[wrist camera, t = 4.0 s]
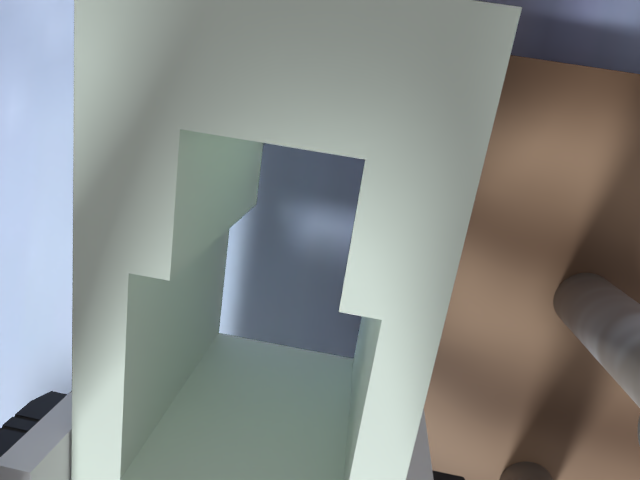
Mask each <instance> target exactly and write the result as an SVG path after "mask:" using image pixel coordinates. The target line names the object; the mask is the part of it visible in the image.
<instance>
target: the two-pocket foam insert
mask: <svg viewBox="0 0 640 480" xmlns="http://www.w3.org/2000/svg"><path fill="white" fill-rule="evenodd" d="M521 10H522V7H517V6H510V5H503V4H496V3H489V2H482V1H475V0H74V147H73V308H72V469H71V480H406V477H407V473H408V469H409V465H410V461H411V457H412V453H413V449H414V445H415V441H416V437H417V433H418V429H419V424H420V420H421V416H422V412H423V408H424V404H425V400H426V396H427V392H428V388H429V384H430V380H431V376H432V372H433V368H434V363H435V359H436V355H437V351H438V347H439V343H440V339H441V335H442V331H443V327H444V323H445V319H446V315H447V311H448V307H449V303H450V298H451V294H452V290H453V286H454V282H455V278H456V274H457V270H458V266H459V262H460V258H461V254H462V250H463V246H464V242H465V237H466V233H467V229H468V225H469V221H470V217H471V213H472V209H473V205H474V201H475V197H476V193H477V189H478V185H479V181H480V176H481V172H482V168H483V164H484V160H485V156H486V152H487V148H488V144H489V140H490V136H491V132H492V128H493V124H494V120H495V116H496V111H497V107H498V103H499V99H500V95H501V91H502V87H503V83H504V79H505V75H506V71H507V67H508V63H509V59H510V55H511V50H512V46H513V42H514V38H515V34H516V30H517V26H518V22H519V18H520V14H521ZM263 143H267V144H273V145H279V146H285V147H291V148H297V149H304V150H310V151H316V152H322V153H328V154H334V155H340V156H346V157H352V158H358V159H364V160H365V163H364V169H363V175H362V180H361V186H360V192H359V197H358V203H357V209H356V214H355V220H354V226H353V232H352V237H351V243H350V249H349V255H348V261H347V266H346V272H345V278H344V284H343V290H342V295H341V301H340V307H339V312H342V313H347V314H352V315H358V316H362V318H361V323H360V328H359V333H358V338H357V344H356V349H355V354H354V359H353V358H348V357H342V356H337V355H332V354H327V353H321V352H316V351H311V350H306V349H300V348H295V347H290V346H285V345H279V344H274V343H269V342H264V341H258V340H253V339H248V338H243V337H237V336H232V335H227V334H221V333H219V326H220V316H221V306H222V296H223V286H224V277H225V267H226V257H227V247H228V237H229V228H230V227H232V226H233V225H234V224H235V223H236V222H237V221H238V220H239V219H241V218H242V217H243V216H244V215H245V214H246V213H247V212H249V211H250V210H251V209H252V208H253V207H254V206H255V205H256V203H257V194H258V186H259V177H260V168H261V160H262V151H263Z"/></svg>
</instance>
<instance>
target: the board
mask: <svg viewBox="0 0 640 480" xmlns="http://www.w3.org/2000/svg"><path fill="white" fill-rule="evenodd" d="M424 414H425V421H426V428H427V435H428V443H429V450H430V457H431V465H432V470H433V471H438V472H443V473H447V474H452V475H457V476H461V477H464V479H465V480H640V74H635V73H628V72H621V71H615V70H608V69H601V68H594V67H588V66H581V65H574V64H567V63H561V62H554V61H547V60H540V59H534V58H527V57H520V56H513V55H510V59H509V63H508V67H507V71H506V75H505V79H504V83H503V87H502V91H501V95H500V99H499V103H498V107H497V111H496V116H495V120H494V124H493V128H492V132H491V136H490V140H489V144H488V148H487V152H486V156H485V160H484V164H483V168H482V172H481V176H480V181H479V185H478V189H477V193H476V197H475V201H474V205H473V209H472V213H471V217H470V221H469V225H468V229H467V233H466V237H465V242H464V246H463V250H462V254H461V258H460V262H459V266H458V270H457V274H456V278H455V282H454V286H453V290H452V294H451V298H450V303H449V307H448V311H447V315H446V319H445V323H444V327H443V331H442V335H441V339H440V343H439V347H438V351H437V355H436V359H435V363H434V368H433V372H432V376H431V380H430V384H429V388H428V392H427V396H426V400H425V404H424Z"/></svg>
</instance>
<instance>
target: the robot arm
mask: <svg viewBox="0 0 640 480" xmlns="http://www.w3.org/2000/svg"><path fill="white" fill-rule="evenodd" d="M71 469H72V391H71V392H70V393H69V394H68V395H67V394H62V393H57V392H53V391H51V392H49V393H47V394H45V395H43V396H40V397H38V398H36V399H34V400H32V401H30V402H29V403H28V404H27V405H26V406H24V407H23V408H22V409H21V410H20V411H19V412H17V413H16V414H15V417H12V418H10V419H9V420H8V421H7V422H6V423H5V424H3V426H2V428H0V480H71ZM406 480H465V479H464V477H461V476H457V475H452V474H447V473H443V472H438V471H433V470H432V465H431V457H430V450H429V443H428V435H427V428H426V421H425V414H424V408H423V412H422V416H421V420H420V424H419V429H418V433H417V437H416V441H415V445H414V449H413V453H412V457H411V461H410V465H409V469H408V473H407V477H406Z"/></svg>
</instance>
